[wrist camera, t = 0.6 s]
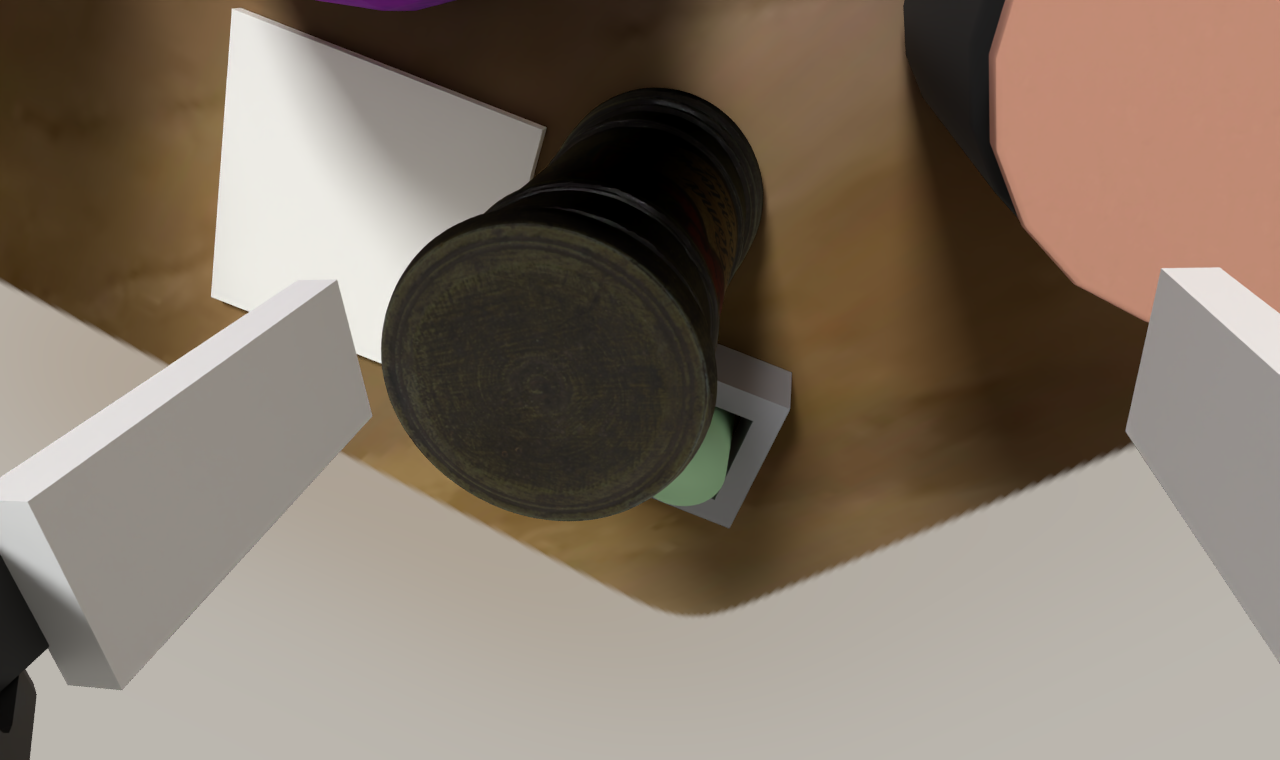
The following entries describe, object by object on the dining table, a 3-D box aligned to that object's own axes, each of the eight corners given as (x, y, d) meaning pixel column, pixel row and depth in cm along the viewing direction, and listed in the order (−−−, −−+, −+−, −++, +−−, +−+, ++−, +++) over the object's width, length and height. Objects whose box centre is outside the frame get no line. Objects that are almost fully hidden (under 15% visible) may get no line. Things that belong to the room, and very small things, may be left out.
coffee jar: (1050, 204, 33) (1268, 436, 17) (839, 39, 32) (866, 127, 16) (1298, -46, 28) (1929, -42, 12) (1059, -255, 27) (1420, -555, 11)
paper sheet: (218, 292, 42) (211, 296, 41) (240, 7, 35) (232, 8, 35) (474, 392, 42) (470, 398, 41) (547, 127, 35) (542, 129, 35)
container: (636, 327, 39) (516, 585, 23) (518, 165, 36) (293, 331, 20) (805, 227, 35) (800, 451, 19) (687, 39, 33) (571, 122, 17)
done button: (639, 433, 40) (621, 485, 36) (667, 365, 38) (650, 412, 34) (716, 463, 40) (706, 518, 36) (747, 396, 38) (740, 448, 34)
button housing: (606, 435, 42) (589, 473, 39) (651, 317, 38) (636, 349, 35) (735, 486, 42) (729, 528, 39) (791, 372, 38) (790, 409, 35)
